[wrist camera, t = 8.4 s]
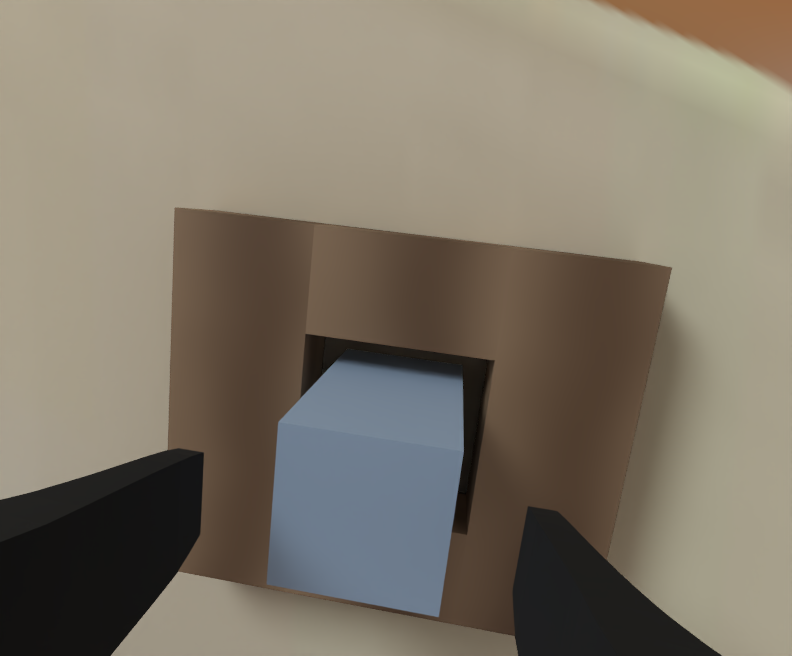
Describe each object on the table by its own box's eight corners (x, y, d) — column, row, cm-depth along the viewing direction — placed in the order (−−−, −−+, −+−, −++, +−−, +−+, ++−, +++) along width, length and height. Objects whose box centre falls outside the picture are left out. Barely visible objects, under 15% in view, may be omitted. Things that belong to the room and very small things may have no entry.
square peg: (336, 455, 19) (266, 584, 12) (347, 348, 18) (278, 421, 11) (446, 473, 18) (438, 617, 12) (462, 364, 18) (463, 451, 11)
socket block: (200, 527, 20) (164, 568, 18) (214, 210, 18) (174, 207, 15) (570, 594, 19) (586, 649, 16) (640, 261, 16) (671, 267, 14)
